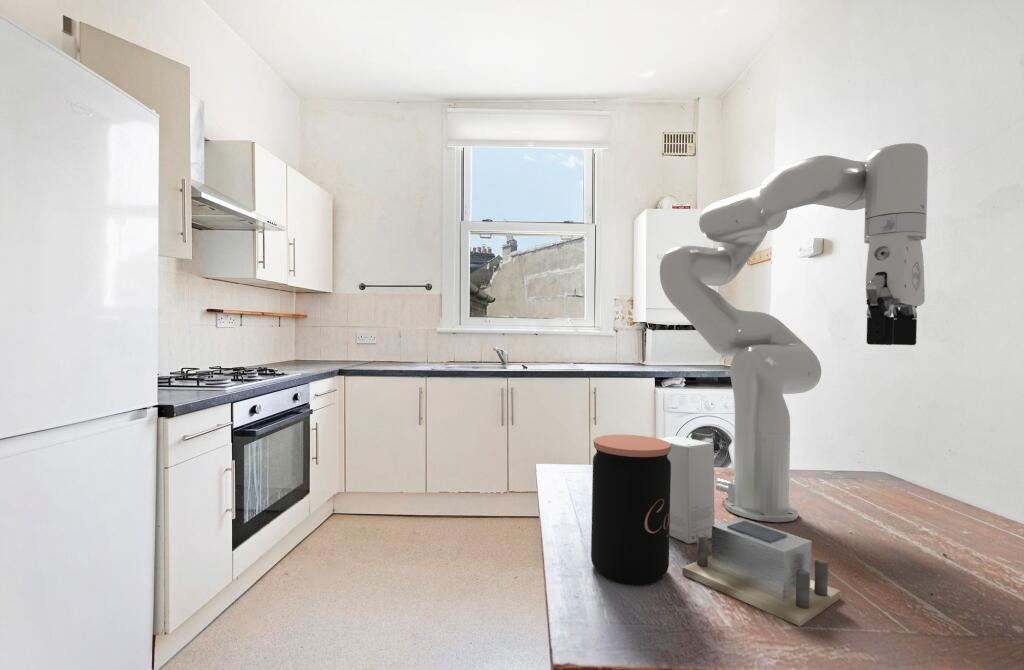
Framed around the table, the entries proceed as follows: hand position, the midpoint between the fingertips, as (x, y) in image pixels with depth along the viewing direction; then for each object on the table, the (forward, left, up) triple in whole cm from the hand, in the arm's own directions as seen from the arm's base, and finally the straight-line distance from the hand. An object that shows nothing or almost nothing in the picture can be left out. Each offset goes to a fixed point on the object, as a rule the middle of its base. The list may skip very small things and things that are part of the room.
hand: (891, 344), depth 78 cm
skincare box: (-24, -17, -32) cm, 44 cm away
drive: (-7, -24, -31) cm, 40 cm away
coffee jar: (-20, -35, -32) cm, 52 cm away
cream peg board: (-7, -24, -32) cm, 41 cm away
